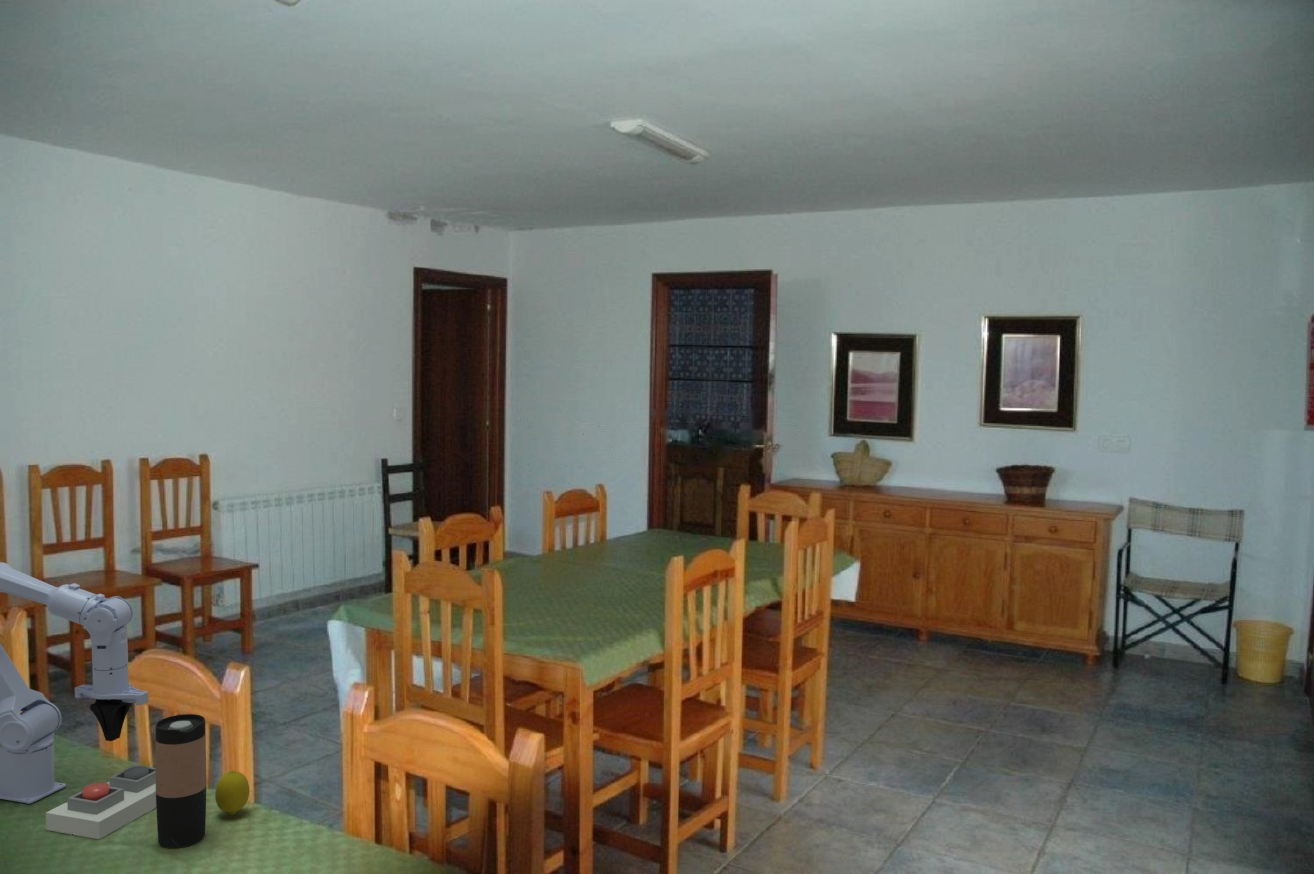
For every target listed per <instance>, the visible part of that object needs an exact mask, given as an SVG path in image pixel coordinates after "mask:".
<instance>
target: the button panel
mask: <svg viewBox="0 0 1314 874" xmlns="http://www.w3.org/2000/svg"><path fill="white" fill-rule="evenodd" d="M137 766H141V765H139V764H134V765H132V766H130V767H128V768H125V769H124V770H122V771H119V772H118V773H116V774H113V775H112V776H109V780H108V781H107V782H105V783H107V784H109V795H107V796H105V797H103V798H101V799H100V800H98V801H92V800H86V799H83V790H81V791H79V792H78V793H76V794H73V795H71V796H69V797H67V801H66V802H65V803H62V804H60V805H58V806H57V807H54V808H52V809H50V810H49V811H46V812H45V830H46V831H52V832H56V833H61V834H67V835H72V834H73V836H77V837H83V838H89V839H90V838H91V839H94V840H101V839H103V838H104V837H106V836H109V835H110V834H111V833H113V832H115V831H117V830H119V829H120V828H122V827H124V826H125V825H127V824H130V823H131V822H133V821H134V820H137V819H138V818H140V817H142V816H143V815H145V814H147V813H149V812H151V811H152V810H155V809H156V767H153V766H152V767H151V766H146V765H144V766H145V767H148V768H149V774H148V775H146V776H144V777H142V778H140V779H138V780H133V779H127V778H124V771H125V770H127V769H129V768H132V767H137Z"/></svg>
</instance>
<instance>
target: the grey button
mask: <svg viewBox="0 0 1314 874" xmlns="http://www.w3.org/2000/svg"><path fill="white" fill-rule="evenodd" d="M145 766H146V765H140V766H137V767H132V766H131V767H132V768H130V767H128V768H129V769H128V768H126V769H127V770H126V769H124V770H125V771H124V770H123V771H124V778H127V779H133V780H138V779H140V778H142V777H144V776H146V775H148V774H149V768H148V767H149V766H147V767H145Z"/></svg>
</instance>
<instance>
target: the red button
mask: <svg viewBox="0 0 1314 874" xmlns="http://www.w3.org/2000/svg"><path fill="white" fill-rule="evenodd" d="M82 791H83V799H86V800H92V801H98V800H100V799H101V798H103V797H105V796H107V795H109V784H107V783H106V782H95V783H91V784H88V785H85V786H84V787H83V788H82Z"/></svg>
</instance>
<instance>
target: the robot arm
mask: <svg viewBox="0 0 1314 874" xmlns="http://www.w3.org/2000/svg"><path fill="white" fill-rule="evenodd" d="M80 587H81V585H80V584H78V583H75V582H73V583H70V584H62V585H60V586H58V587H56V586H55V585H51V584H49V583H47V582H44V581H42V580H40V579H38V578H35V577H34V576H31V575H28V574H27V573H23V572H22V571H19V570H17V569H14V568H12V567H11V566H10V565H9V564H8V563H6V562H2V561H0V593H5V594H8V595H13V596H15V597H19V598H22V599H25V600H29V601H32V602H35V603H38V604H42V605H46V606H47V610H48V612H49V613H50V615H54V616H56V617H58V618H62V619H64V620H67V621H70V622H71V623H74V624H75V623H76V624H78V625H81V626H83V627H84V628H85V630H86V632H87V633H88V634H89V636H90V643H91V661H92V662H91V664H92V684H80V685H79V686H76V687H74V698H75V699H82V698H86V699H87V698H88V699H95V701H94V702H93V703H92V704H90V705H89V709H90V711H91V712H92V714H93V715H94V716H95V718H96V719H97V721H98V723H99V725H100V728H101V731H102V733H103V736H104V737H103V738H104V740H105V741H107V742H114V741H116V740H117V739H119V738H120V737H121V736H122V735H121V734H122V730H123V726H124V722H125V720H126V717H127V714H128V712H129V710H130V708H131V706H132V705H133V704H135V706H143V705H145V704H147V703H149V691H146V690H145V691H144V690H141V689H138V688H135V687H134V686H132V683H130V682H129V681H130V680H129V679H130V677H129V648H128V647H129V646H128V645H129V644H128V643H129V642H128V626H127V625H128V624H130V622H131V621H132V619H133V616H134V615H133V614H134V612H133V611H134V610H133V607H132V605H131V603H130V602H129V601H127V600H126V599H124V598H122V596H119V595H117V596H111V597H109V598H106V597H105V594H103V593H98V594H96V593H93V592H90V591H87V590H86V589H82V588H80ZM60 710H61V709H59V707H58V706H56V705H55V704H54V703H52V702H51V701H49V700H48V699H47V698H46V697H45V695H44V693H43V692H40V691H37V690H34V689H32V688H29V686H28V685H27V683H26V681H25V680H24V678H23V676H22V675H21V673H20V672H19V670H18V669H17V667H16V666H15V664H14V663H13V661H12V659H11V657H10V656H9V655H8V653H7V652H6V650H5V648H4V647H3V646H2V643H1V642H0V800H6V801H11V802H16V803H23V804H33V803H35V802H36V801H39V800H42V799H43V798H45V797H47V796H49V795H52V794H53V793H56V792H58V791H60V790H62V789H65V788H66V787H67V783H64V782H58V781H56V780H55V741H54V739H55V735H56V734H55V732H56V731H57V730H59V728H60V726H61V724H62V719H63V718H62V713H61V711H60Z"/></svg>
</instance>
